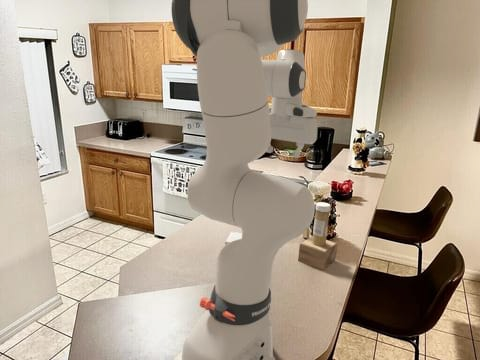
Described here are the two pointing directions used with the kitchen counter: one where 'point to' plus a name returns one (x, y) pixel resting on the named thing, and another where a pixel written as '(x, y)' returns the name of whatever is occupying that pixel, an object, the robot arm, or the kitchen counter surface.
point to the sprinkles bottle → (321, 223)
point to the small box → (233, 237)
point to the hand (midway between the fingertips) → (282, 154)
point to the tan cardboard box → (317, 253)
